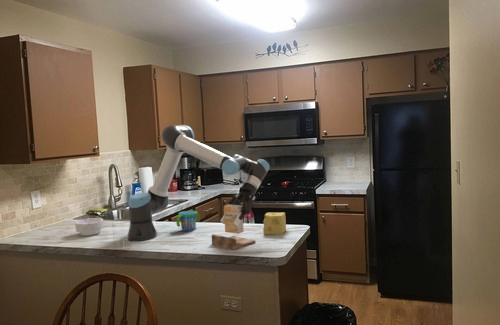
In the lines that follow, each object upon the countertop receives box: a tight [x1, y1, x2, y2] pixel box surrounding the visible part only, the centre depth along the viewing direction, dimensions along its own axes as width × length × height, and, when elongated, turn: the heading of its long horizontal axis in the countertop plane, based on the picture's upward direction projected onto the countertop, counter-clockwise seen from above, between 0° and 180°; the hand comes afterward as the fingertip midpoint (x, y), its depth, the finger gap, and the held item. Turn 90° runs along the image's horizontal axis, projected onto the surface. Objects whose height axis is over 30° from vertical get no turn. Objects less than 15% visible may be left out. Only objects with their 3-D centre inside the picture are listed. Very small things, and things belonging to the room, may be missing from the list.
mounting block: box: [211, 233, 256, 251], centre depth 193 cm, size 16×14×5 cm
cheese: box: [262, 212, 287, 236], centre depth 211 cm, size 10×11×10 cm
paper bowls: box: [74, 217, 105, 237], centre depth 232 cm, size 15×15×8 cm
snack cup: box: [175, 210, 201, 232], centre depth 228 cm, size 16×10×10 cm
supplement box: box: [223, 204, 245, 235], centre depth 193 cm, size 8×5×13 cm, turn 56°
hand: (228, 223), depth 191 cm, fingers closed on supplement box, 9 cm apart
